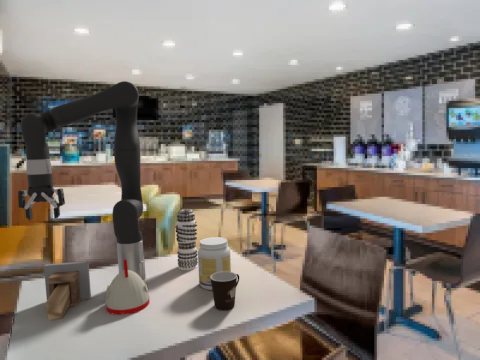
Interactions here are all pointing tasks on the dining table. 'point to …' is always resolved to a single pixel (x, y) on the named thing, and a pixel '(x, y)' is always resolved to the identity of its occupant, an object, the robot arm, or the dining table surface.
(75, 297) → the block
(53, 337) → the dining table surface
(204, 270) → the supplement tub
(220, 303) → the coffee mug
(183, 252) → the decorative candle
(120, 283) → the cream dome
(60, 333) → the dining table surface
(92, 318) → the dining table surface
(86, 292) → the wall
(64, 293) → the tan wooden bar
